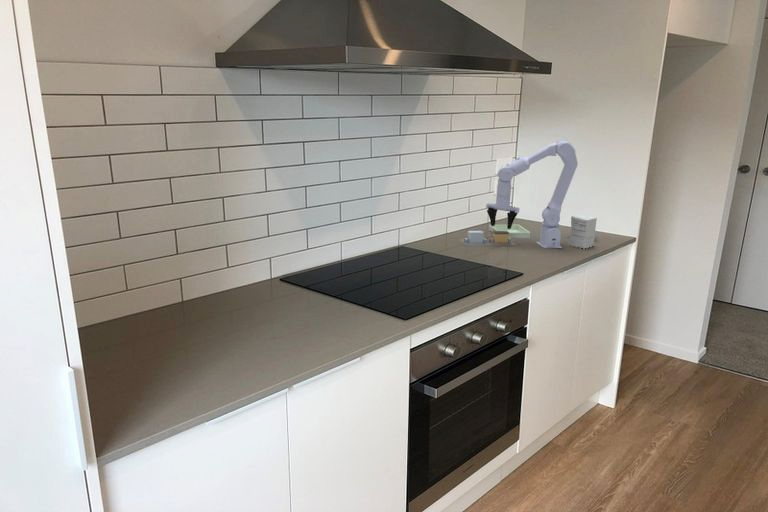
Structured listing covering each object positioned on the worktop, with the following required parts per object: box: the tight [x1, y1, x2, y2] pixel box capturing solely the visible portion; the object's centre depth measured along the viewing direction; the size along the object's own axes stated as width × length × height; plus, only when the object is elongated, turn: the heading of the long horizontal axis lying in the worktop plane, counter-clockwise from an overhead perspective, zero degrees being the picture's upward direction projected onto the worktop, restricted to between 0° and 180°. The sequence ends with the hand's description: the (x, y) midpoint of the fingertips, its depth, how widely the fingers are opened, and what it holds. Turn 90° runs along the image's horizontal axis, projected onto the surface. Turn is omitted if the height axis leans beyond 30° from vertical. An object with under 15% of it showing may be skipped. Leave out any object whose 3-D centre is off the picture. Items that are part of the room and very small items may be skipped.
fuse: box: [467, 230, 485, 243], centre depth 262 cm, size 3×6×4 cm, turn 97°
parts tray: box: [488, 224, 532, 239], centre depth 278 cm, size 16×14×3 cm
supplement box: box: [569, 214, 598, 250], centre depth 260 cm, size 7×7×13 cm
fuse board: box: [459, 237, 517, 246], centre depth 263 cm, size 11×22×2 cm, turn 97°
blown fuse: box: [492, 231, 509, 243], centre depth 263 cm, size 3×6×4 cm, turn 97°
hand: (501, 227), depth 262 cm, fingers open, 7 cm apart
